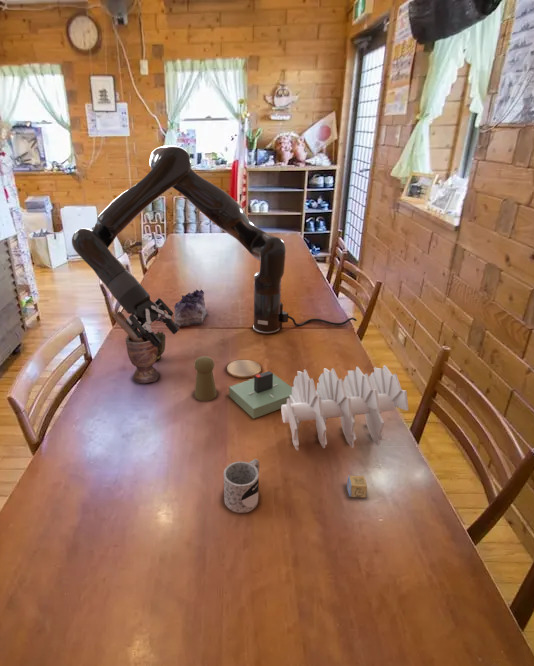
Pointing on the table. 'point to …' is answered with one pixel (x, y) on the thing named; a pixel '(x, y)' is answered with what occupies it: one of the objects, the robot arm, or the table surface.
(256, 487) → the grey thin strip
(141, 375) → the mortar and pestle
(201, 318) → the geode
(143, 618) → the table surface
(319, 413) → the spiral staircase
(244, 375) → the coaster
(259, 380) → the black block red tip
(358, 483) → the alphabet block
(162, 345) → the ornate metal bell
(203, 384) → the olive round-headed cylinder
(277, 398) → the control panel
